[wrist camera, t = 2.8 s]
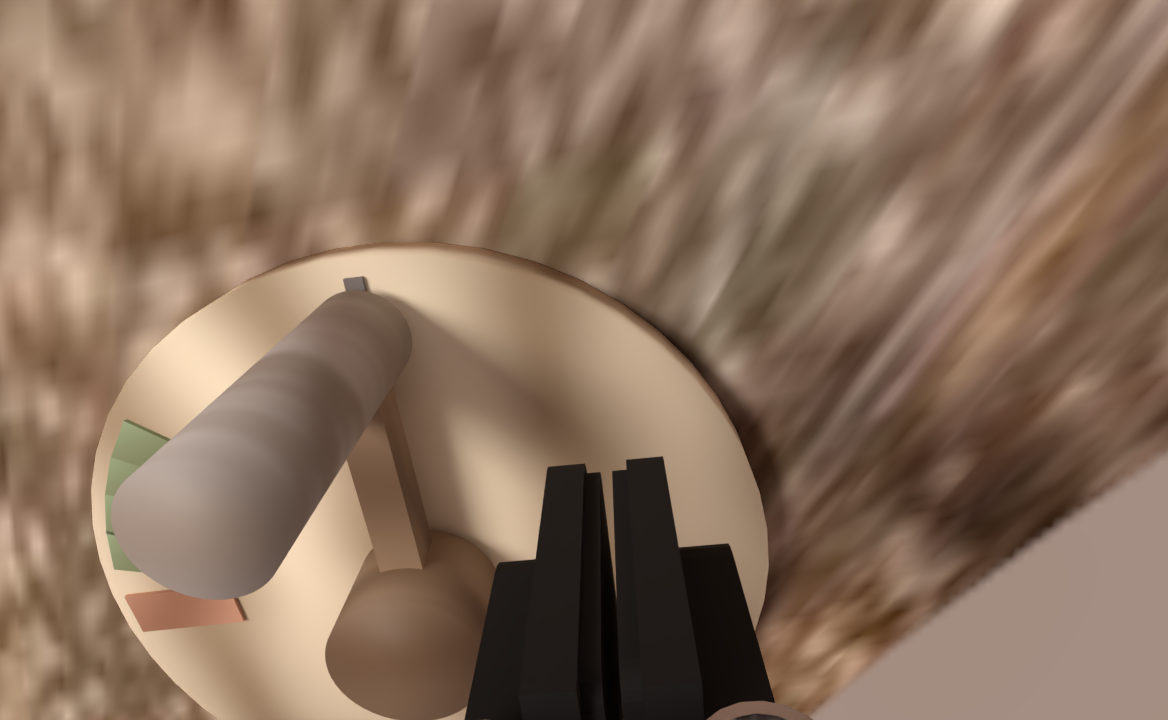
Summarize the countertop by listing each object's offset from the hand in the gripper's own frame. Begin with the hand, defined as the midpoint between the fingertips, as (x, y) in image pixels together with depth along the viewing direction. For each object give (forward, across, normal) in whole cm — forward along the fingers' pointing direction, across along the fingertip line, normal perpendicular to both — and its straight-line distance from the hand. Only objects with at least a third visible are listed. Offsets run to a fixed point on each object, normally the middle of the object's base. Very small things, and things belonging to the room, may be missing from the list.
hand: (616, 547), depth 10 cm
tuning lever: (+9, +6, +4) cm, 11 cm away
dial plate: (+11, +6, +8) cm, 14 cm away
